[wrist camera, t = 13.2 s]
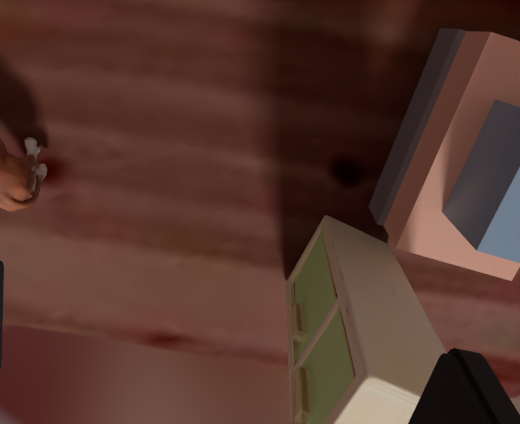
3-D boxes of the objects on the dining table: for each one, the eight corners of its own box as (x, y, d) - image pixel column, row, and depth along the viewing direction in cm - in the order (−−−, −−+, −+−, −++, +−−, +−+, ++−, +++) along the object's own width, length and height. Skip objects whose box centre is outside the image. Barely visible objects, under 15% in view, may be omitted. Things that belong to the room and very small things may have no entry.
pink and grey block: (439, 28, 36) (483, 29, 29) (560, 67, 37) (633, 78, 29) (368, 206, 41) (388, 246, 34) (474, 237, 42) (517, 282, 35)
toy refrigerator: (317, 207, 42) (356, 370, 22) (390, 241, 43) (489, 426, 23) (276, 279, 44) (279, 481, 25) (346, 310, 45) (401, 527, 26)
